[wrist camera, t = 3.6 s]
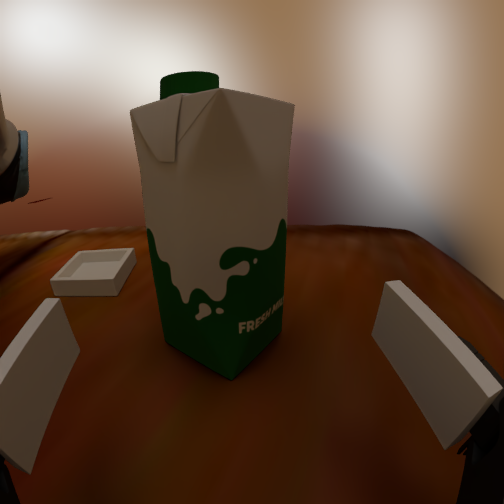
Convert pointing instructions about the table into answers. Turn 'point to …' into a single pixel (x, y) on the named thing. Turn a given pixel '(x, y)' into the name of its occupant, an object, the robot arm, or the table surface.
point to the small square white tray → (94, 273)
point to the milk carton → (215, 215)
